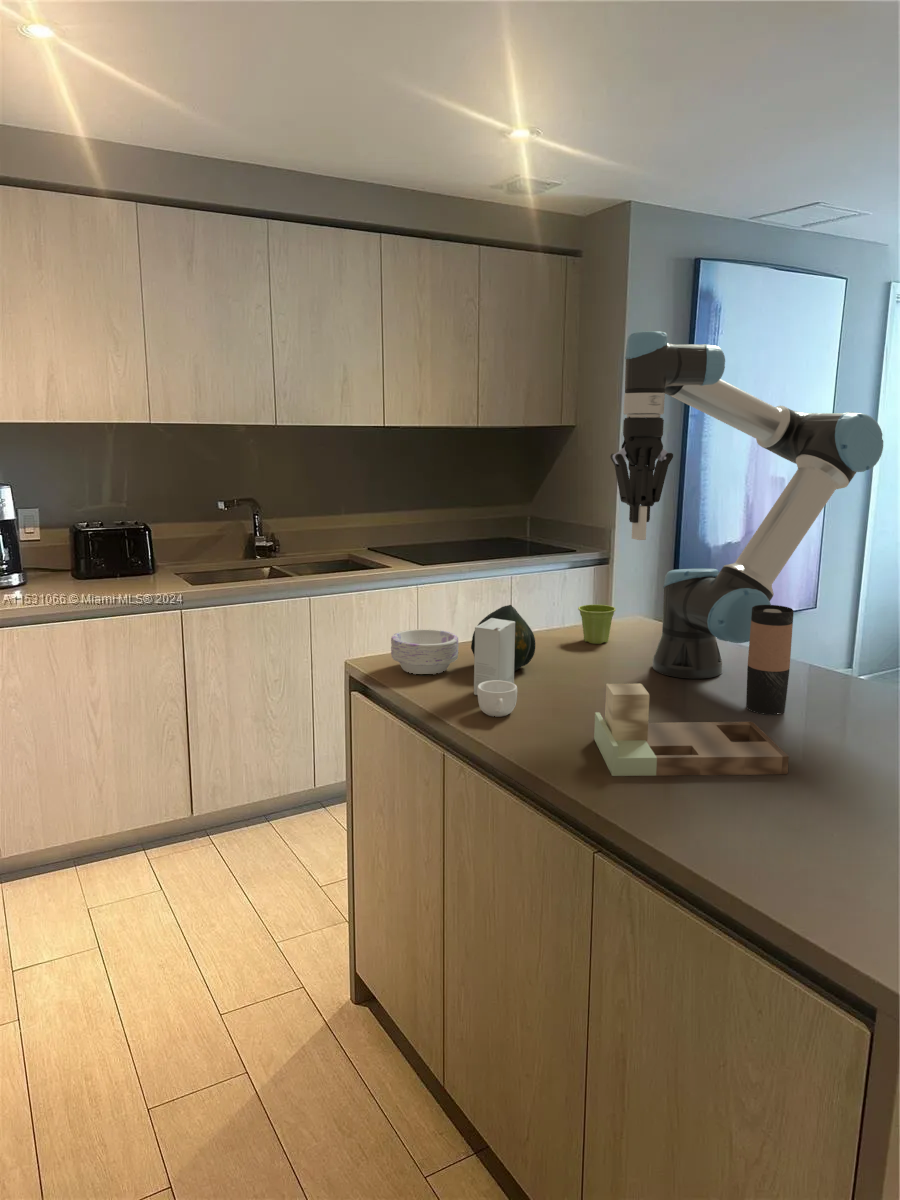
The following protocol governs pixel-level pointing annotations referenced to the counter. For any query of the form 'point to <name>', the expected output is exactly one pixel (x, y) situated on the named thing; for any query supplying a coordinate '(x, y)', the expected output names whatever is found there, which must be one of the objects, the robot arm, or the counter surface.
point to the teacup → (497, 697)
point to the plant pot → (596, 622)
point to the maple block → (627, 711)
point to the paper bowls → (424, 650)
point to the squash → (522, 635)
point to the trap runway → (714, 749)
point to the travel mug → (769, 658)
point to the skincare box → (494, 651)
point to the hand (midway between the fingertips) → (638, 539)
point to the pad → (624, 752)
